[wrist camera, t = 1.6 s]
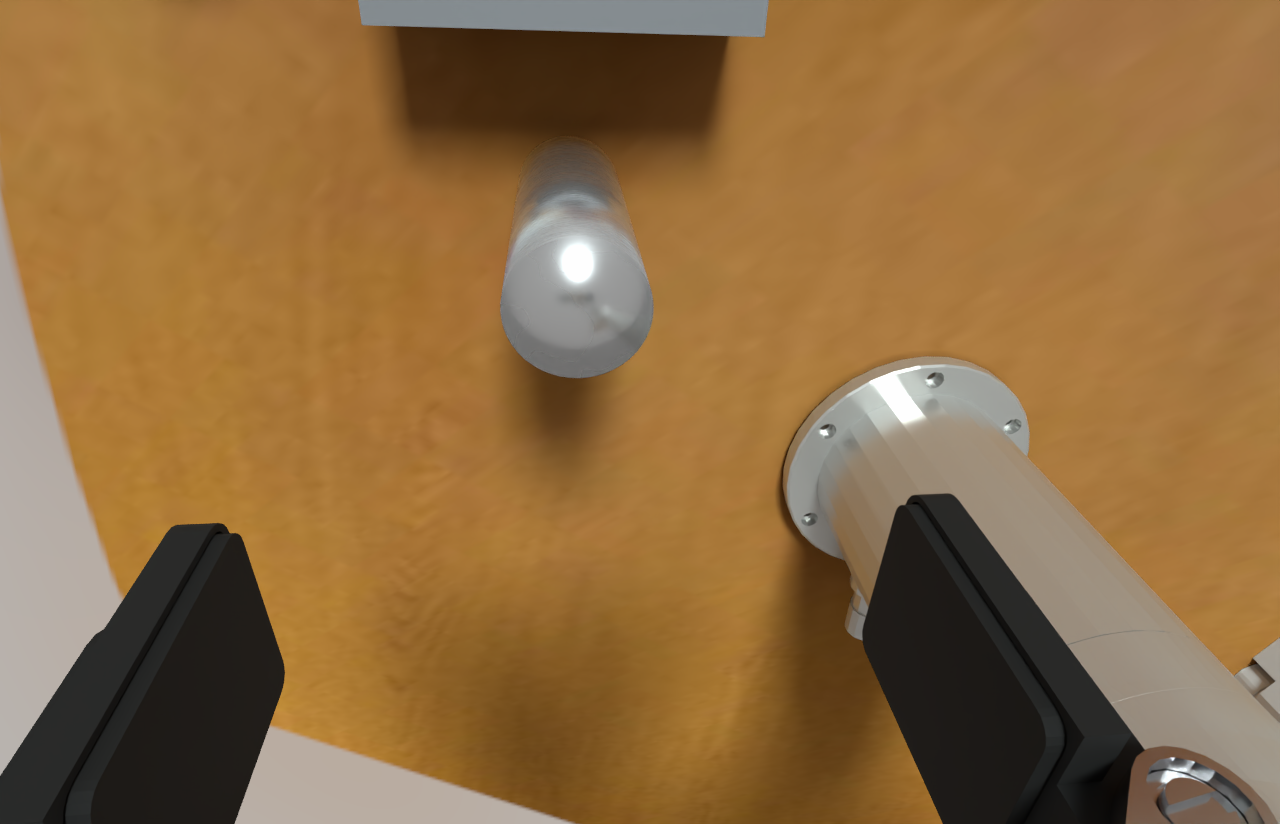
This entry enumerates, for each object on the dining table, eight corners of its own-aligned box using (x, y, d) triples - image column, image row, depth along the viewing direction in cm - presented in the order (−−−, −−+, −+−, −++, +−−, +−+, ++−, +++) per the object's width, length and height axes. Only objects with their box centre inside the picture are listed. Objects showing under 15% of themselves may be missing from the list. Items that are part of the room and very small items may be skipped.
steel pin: (617, 236, 31) (650, 376, 21) (520, 236, 30) (505, 379, 20) (619, 136, 29) (656, 237, 18) (515, 134, 28) (495, 237, 18)
